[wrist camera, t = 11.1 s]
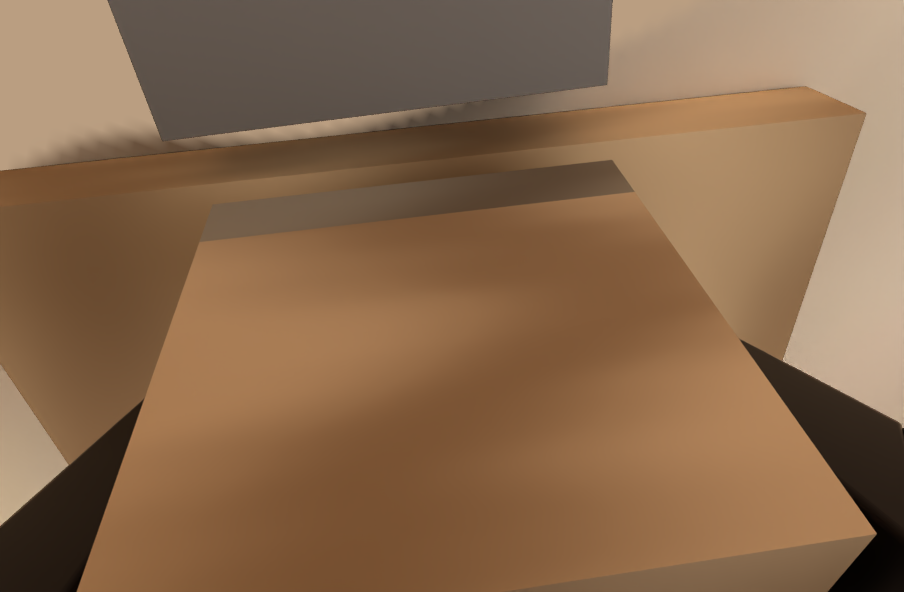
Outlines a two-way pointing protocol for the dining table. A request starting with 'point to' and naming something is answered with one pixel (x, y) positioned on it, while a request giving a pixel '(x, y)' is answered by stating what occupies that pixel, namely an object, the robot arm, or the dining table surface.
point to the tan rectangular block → (463, 408)
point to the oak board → (393, 162)
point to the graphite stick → (351, 56)
